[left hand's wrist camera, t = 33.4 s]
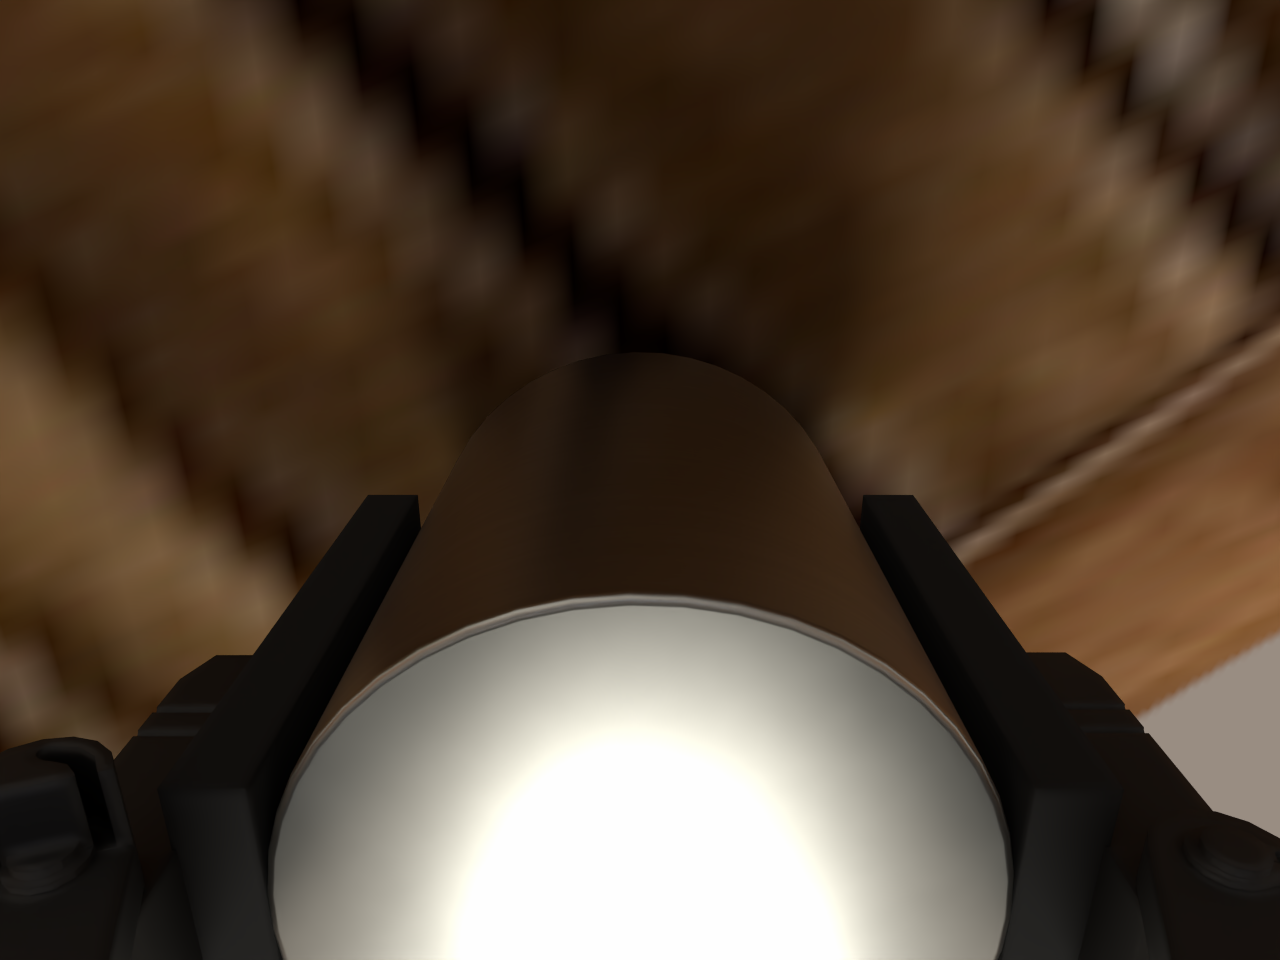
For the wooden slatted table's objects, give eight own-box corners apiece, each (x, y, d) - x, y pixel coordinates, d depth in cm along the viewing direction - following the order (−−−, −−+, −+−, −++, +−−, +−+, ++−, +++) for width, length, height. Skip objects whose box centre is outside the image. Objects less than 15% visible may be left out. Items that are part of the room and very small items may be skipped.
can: (631, 260, 14) (621, 421, 7) (920, 537, 16) (1170, 912, 8) (361, 551, 16) (115, 936, 8) (647, 771, 17) (652, 1250, 10)
